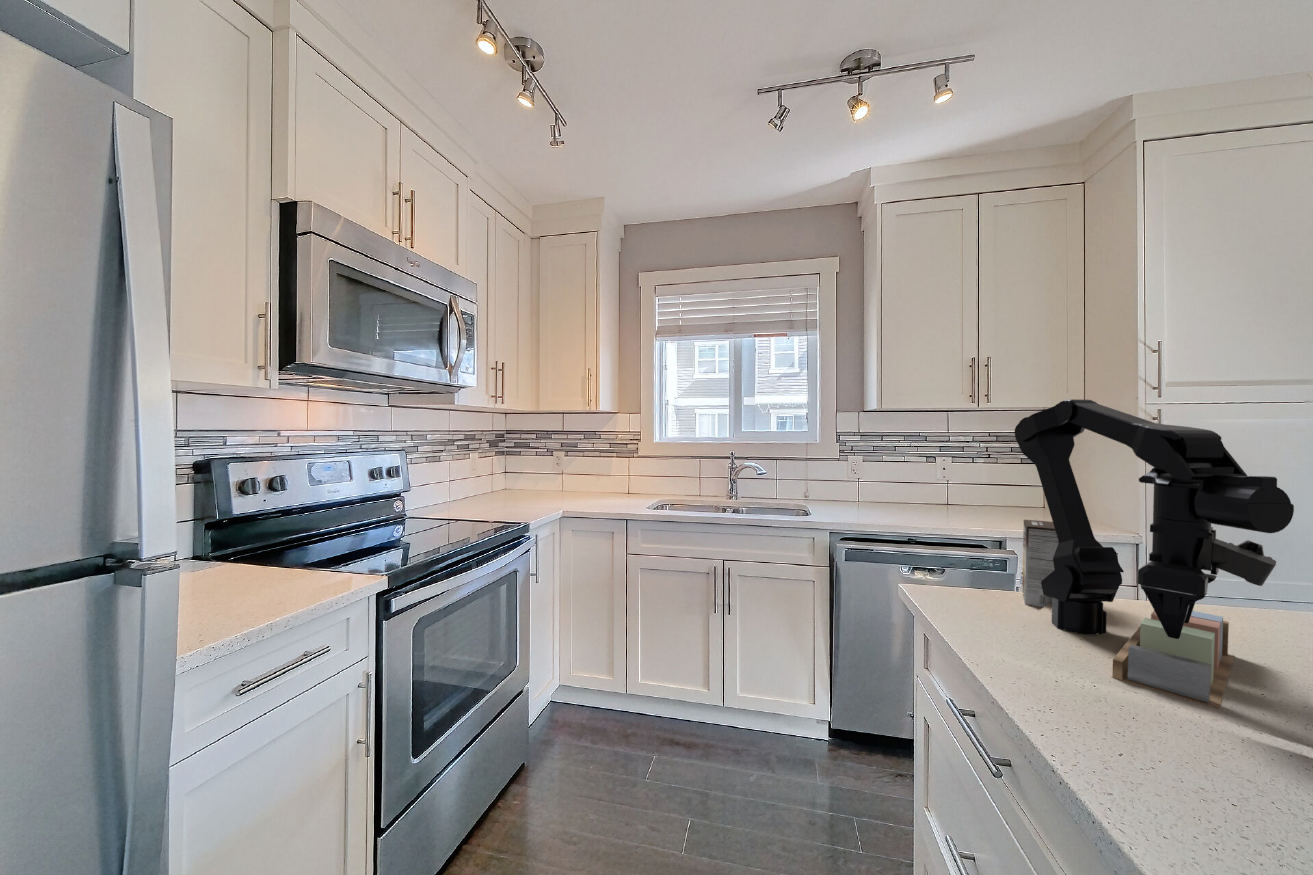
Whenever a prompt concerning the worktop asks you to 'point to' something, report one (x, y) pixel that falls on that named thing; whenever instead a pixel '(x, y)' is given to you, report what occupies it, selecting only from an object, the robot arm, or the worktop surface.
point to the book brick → (1206, 626)
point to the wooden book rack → (1215, 693)
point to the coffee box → (1037, 560)
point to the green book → (1179, 642)
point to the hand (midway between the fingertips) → (1178, 629)
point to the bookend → (1170, 672)
